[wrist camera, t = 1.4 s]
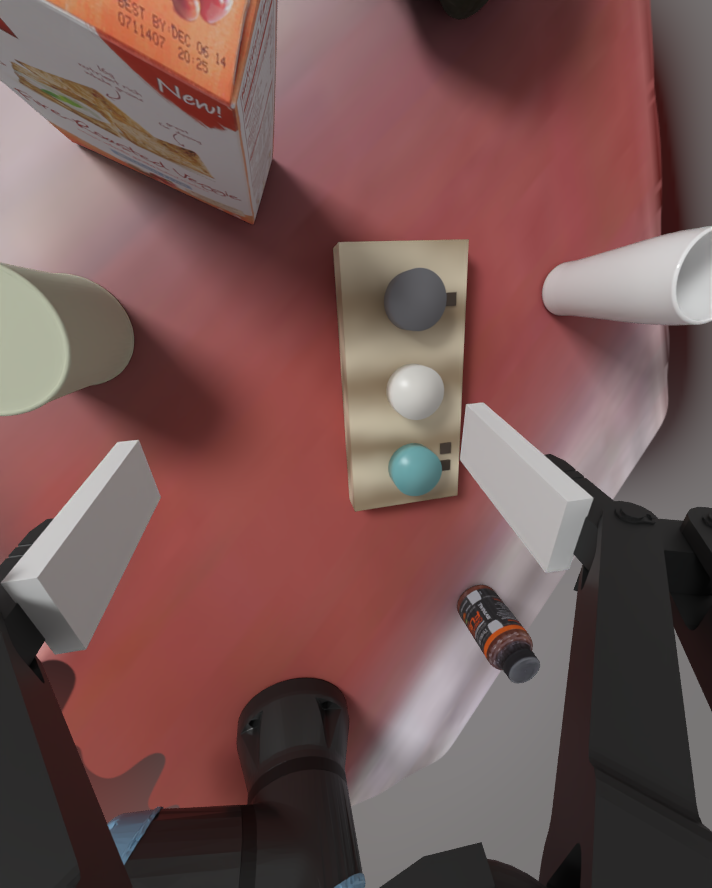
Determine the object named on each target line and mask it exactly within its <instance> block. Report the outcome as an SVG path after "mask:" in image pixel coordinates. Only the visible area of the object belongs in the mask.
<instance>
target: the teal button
mask: <svg viewBox="0 0 712 888" xmlns="http://www.w3.org/2000/svg"><path fill="white" fill-rule="evenodd" d="M388 472H389V476H390V478H391V480H392V481H393V482H394V484H395V485H396V486H397V488H398V489H399V490H400V491H401V492H402V493H404V494H406V495H409V496H420V495H424V494H426V493H428V492H429V491H431V490H432V489H433V488H434V487H435V486H436V485H437V483H438V482H439V480H440V477H441V474H442V465H441V462H440V460H439V458H438V457H437V456H436V455H435V454H434V453H433V452H432V451H431V450H429V449H428V448H427V447H426V446H424V445H422V444H418V443H410V444H406V445H404V446H402V447H400V448H399V449H397V450H396V451H395V452H394V454H393V455H392V457H391V459H390V461H389V465H388Z"/></svg>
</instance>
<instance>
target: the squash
mask: <svg viewBox="0 0 712 888" xmlns="http://www.w3.org/2000/svg"><path fill="white" fill-rule="evenodd" d="M487 2H488V0H440V3H441V5H442V7H443V9H444V10H445V12H446V13H447V14H448V15H449V16H451V17H452V18H455V19H465V18H468V17H470V16H472V15H473V14H475V13H476V12H478V11H479V10H480V9H481V8H482V7H483V6H484V5H485V4H486V3H487Z"/></svg>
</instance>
